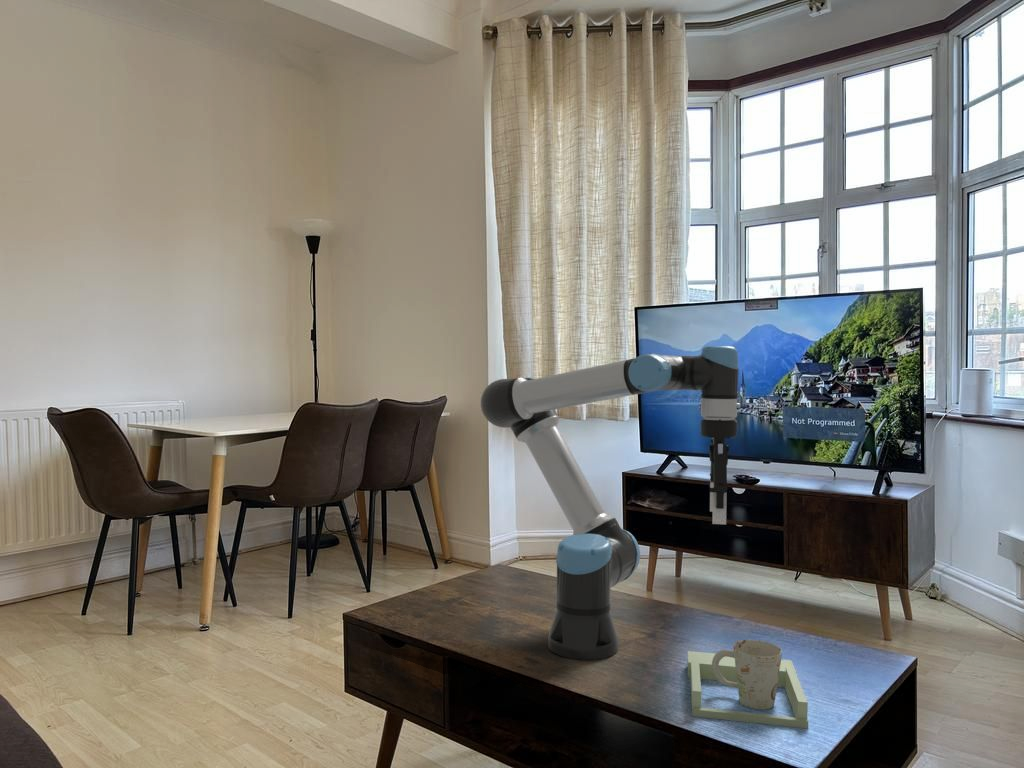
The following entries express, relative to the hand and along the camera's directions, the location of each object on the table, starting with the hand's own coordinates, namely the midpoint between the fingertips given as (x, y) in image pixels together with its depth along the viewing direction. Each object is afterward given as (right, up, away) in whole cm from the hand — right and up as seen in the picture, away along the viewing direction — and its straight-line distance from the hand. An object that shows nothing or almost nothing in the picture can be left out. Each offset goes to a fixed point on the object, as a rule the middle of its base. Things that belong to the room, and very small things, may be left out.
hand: (717, 517), depth 159 cm
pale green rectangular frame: (-1, -29, -21) cm, 36 cm away
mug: (-1, -29, -23) cm, 37 cm away
